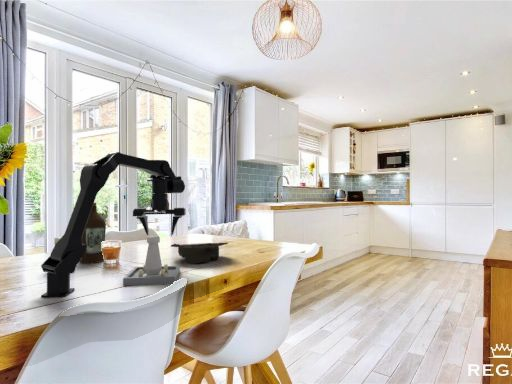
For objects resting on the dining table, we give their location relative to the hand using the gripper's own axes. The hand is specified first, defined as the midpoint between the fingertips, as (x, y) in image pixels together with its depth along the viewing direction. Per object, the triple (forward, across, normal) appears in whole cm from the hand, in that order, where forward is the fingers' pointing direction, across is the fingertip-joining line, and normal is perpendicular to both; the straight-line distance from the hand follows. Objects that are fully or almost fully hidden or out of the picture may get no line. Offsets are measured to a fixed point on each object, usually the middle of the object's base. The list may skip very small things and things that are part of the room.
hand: (160, 234), depth 124 cm
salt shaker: (+12, 0, +12) cm, 17 cm away
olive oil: (+14, +32, -19) cm, 39 cm away
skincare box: (+13, +36, -5) cm, 39 cm away
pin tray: (+13, 0, +12) cm, 18 cm away
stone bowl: (+14, -14, -18) cm, 27 cm away
